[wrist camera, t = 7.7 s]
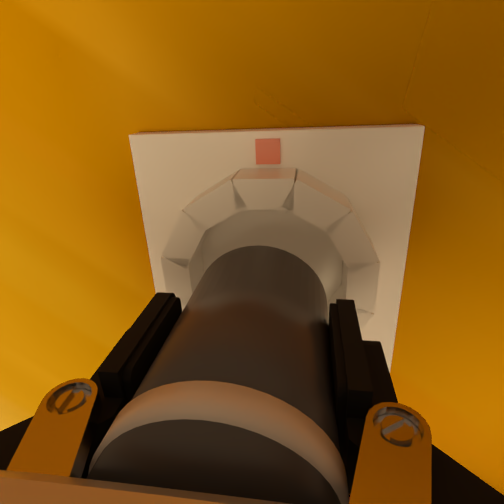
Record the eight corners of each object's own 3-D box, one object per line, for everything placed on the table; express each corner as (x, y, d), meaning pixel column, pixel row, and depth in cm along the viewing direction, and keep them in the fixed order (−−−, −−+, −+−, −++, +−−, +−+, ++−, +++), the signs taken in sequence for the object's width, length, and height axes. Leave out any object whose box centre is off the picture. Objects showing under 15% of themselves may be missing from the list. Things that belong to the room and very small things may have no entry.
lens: (333, 244, 13) (365, 453, 5) (327, 363, 15) (343, 629, 7) (188, 241, 13) (44, 421, 6) (202, 355, 15) (106, 589, 8)
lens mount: (417, 123, 15) (442, 131, 12) (386, 359, 20) (398, 403, 17) (138, 132, 16) (104, 141, 14) (173, 346, 21) (152, 383, 19)
